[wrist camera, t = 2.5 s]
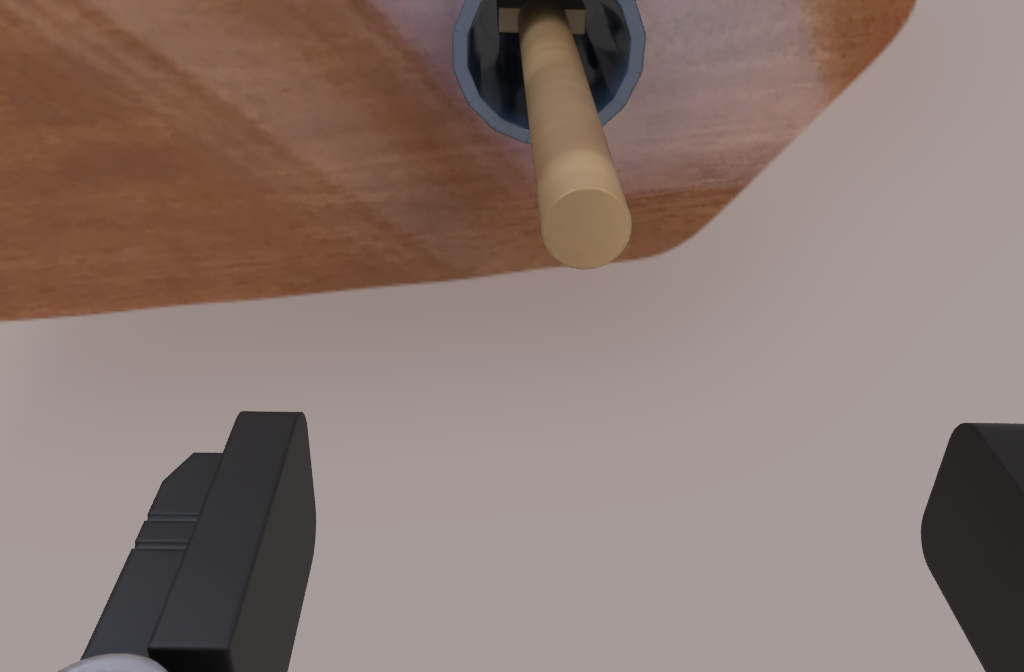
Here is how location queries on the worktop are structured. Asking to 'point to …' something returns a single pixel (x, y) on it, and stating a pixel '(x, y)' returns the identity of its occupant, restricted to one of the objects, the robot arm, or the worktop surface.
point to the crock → (499, 74)
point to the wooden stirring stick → (566, 136)
